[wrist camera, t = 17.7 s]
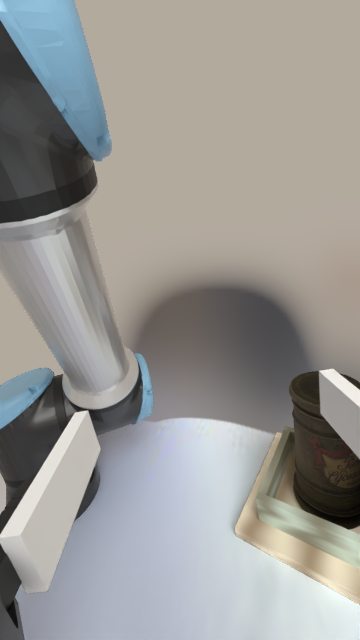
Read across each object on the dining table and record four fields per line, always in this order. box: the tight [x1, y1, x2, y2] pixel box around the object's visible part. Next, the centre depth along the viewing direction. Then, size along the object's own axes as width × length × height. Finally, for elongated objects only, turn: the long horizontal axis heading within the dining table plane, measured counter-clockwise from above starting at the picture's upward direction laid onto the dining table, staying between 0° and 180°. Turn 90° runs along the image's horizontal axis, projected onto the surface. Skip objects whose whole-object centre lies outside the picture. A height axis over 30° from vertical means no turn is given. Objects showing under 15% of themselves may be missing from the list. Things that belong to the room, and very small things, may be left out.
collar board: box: [235, 427, 360, 604], centre depth 36 cm, size 20×20×6 cm
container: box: [289, 371, 360, 530], centre depth 34 cm, size 9×9×18 cm
